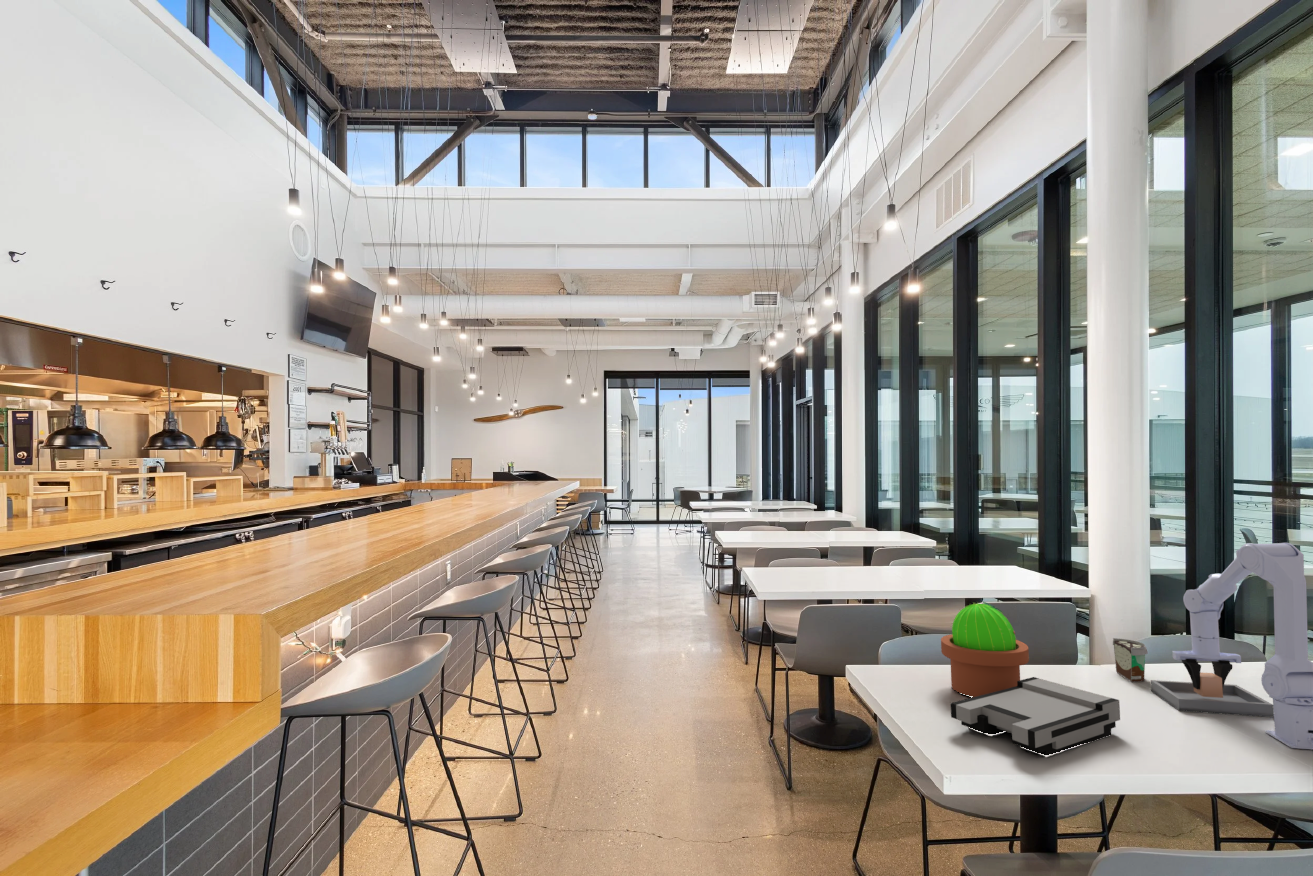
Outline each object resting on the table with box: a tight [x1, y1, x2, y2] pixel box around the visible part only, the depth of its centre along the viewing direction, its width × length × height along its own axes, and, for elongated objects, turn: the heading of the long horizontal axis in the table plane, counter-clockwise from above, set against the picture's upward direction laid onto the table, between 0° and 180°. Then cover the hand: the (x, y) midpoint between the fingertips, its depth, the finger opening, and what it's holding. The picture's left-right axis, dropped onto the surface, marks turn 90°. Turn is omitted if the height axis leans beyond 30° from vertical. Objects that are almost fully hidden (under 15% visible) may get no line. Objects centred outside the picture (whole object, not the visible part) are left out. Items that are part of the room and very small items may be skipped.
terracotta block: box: [1194, 671, 1223, 698], centre depth 177 cm, size 4×4×5 cm
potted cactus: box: [940, 601, 1030, 697], centre depth 189 cm, size 22×22×25 cm
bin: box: [1150, 679, 1274, 718], centre depth 176 cm, size 16×20×3 cm
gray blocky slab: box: [950, 676, 1121, 755], centre depth 159 cm, size 21×32×8 cm, turn 118°
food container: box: [1112, 637, 1148, 683], centre depth 199 cm, size 12×6×10 cm, turn 168°
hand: (1208, 689), depth 177 cm, fingers closed on terracotta block, 4 cm apart
